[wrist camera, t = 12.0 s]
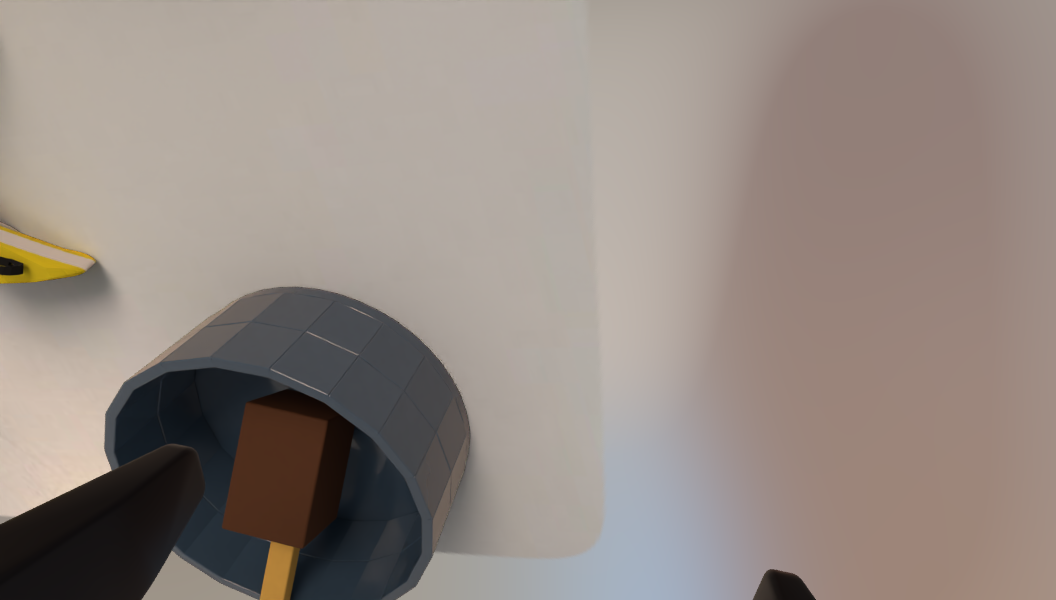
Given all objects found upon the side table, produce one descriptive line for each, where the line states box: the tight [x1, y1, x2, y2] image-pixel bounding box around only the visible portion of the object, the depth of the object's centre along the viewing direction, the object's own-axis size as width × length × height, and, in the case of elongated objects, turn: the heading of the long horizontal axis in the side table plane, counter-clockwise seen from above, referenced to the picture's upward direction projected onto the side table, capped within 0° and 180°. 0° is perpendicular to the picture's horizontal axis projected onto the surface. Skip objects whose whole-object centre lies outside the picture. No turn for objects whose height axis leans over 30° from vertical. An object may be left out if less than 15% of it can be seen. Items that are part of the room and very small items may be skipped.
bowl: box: [104, 287, 470, 600], centre depth 23 cm, size 12×12×5 cm
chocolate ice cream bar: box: [222, 389, 355, 600], centre depth 23 cm, size 3×9×3 cm, turn 172°
